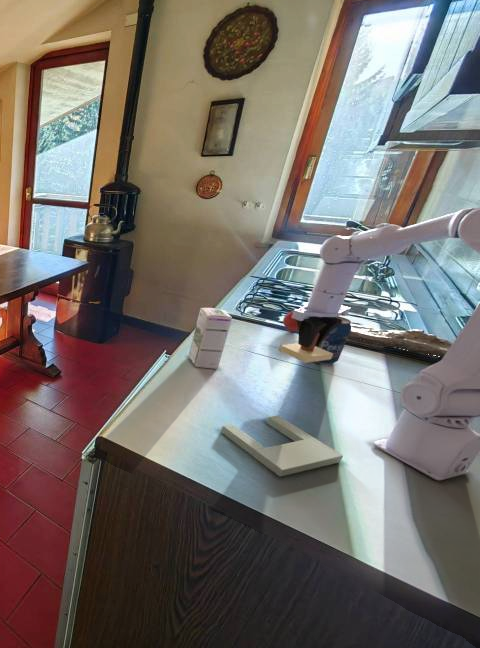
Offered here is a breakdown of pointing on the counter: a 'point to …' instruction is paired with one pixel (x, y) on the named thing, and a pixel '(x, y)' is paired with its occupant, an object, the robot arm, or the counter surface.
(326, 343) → the soda can
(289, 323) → the red round piece
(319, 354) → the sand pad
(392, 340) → the driftwood log
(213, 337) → the syrup box
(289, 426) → the notched mat
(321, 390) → the counter surface
